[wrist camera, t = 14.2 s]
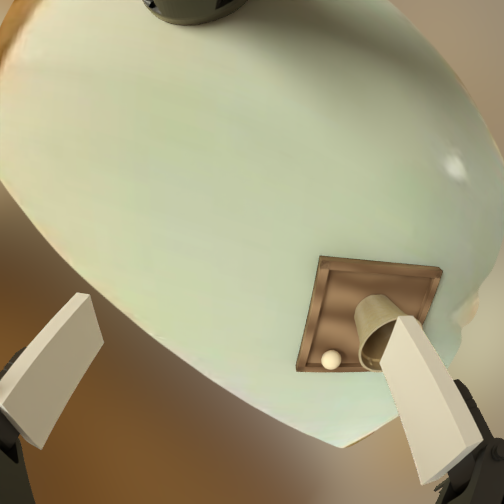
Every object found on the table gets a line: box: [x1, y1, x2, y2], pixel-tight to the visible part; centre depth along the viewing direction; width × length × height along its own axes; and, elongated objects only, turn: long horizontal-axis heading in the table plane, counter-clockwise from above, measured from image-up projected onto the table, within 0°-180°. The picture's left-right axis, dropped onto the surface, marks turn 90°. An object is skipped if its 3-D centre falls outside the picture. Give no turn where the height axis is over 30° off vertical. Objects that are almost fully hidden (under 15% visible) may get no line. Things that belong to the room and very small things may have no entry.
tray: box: [296, 256, 443, 372], centre depth 40 cm, size 20×20×2 cm
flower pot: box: [354, 294, 424, 372], centre depth 35 cm, size 9×9×9 cm
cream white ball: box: [321, 350, 341, 370], centre depth 41 cm, size 3×3×3 cm
